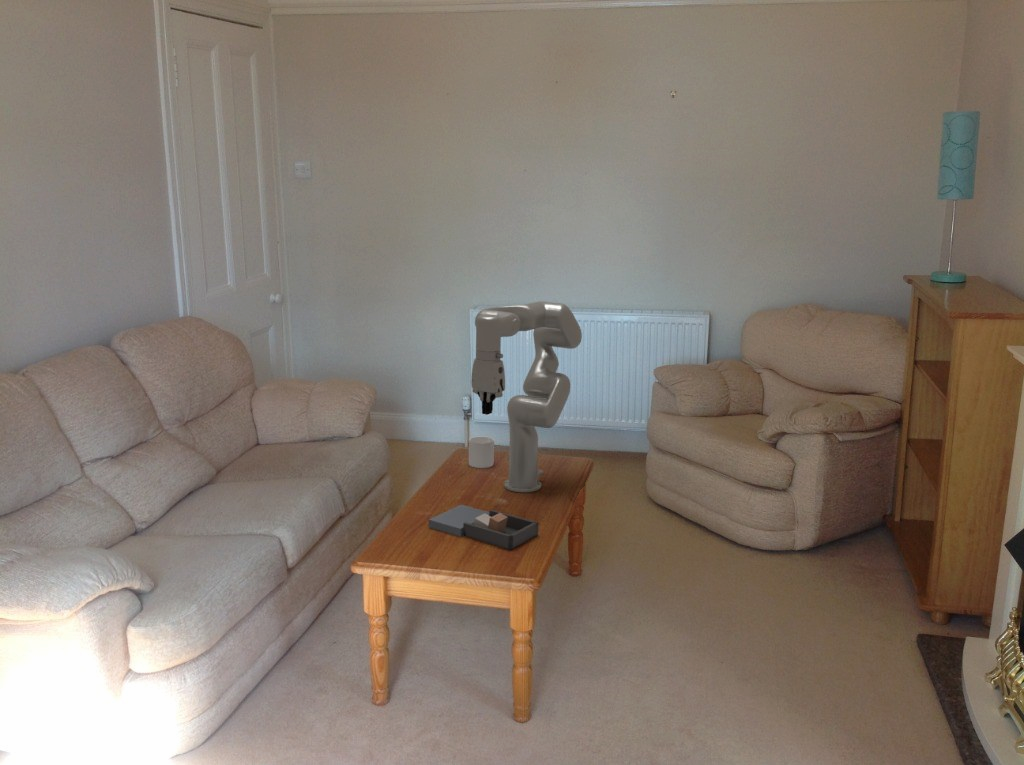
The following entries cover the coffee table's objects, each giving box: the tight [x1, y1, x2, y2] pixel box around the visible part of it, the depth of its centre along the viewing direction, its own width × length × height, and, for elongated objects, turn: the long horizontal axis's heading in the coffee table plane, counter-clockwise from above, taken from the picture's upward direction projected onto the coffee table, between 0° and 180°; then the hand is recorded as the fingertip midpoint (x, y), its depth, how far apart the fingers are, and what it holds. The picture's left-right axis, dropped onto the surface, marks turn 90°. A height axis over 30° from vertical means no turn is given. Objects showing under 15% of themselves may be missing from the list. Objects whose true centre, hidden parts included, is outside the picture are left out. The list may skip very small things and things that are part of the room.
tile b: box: [488, 513, 508, 533], centre depth 284 cm, size 5×5×3 cm
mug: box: [468, 435, 495, 469], centre depth 349 cm, size 12×9×9 cm
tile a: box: [474, 513, 491, 528], centre depth 286 cm, size 5×5×3 cm
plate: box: [428, 504, 489, 537], centre depth 292 cm, size 16×12×2 cm
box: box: [462, 509, 539, 551], centre depth 283 cm, size 14×17×4 cm
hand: (487, 413), depth 298 cm, fingers closed
